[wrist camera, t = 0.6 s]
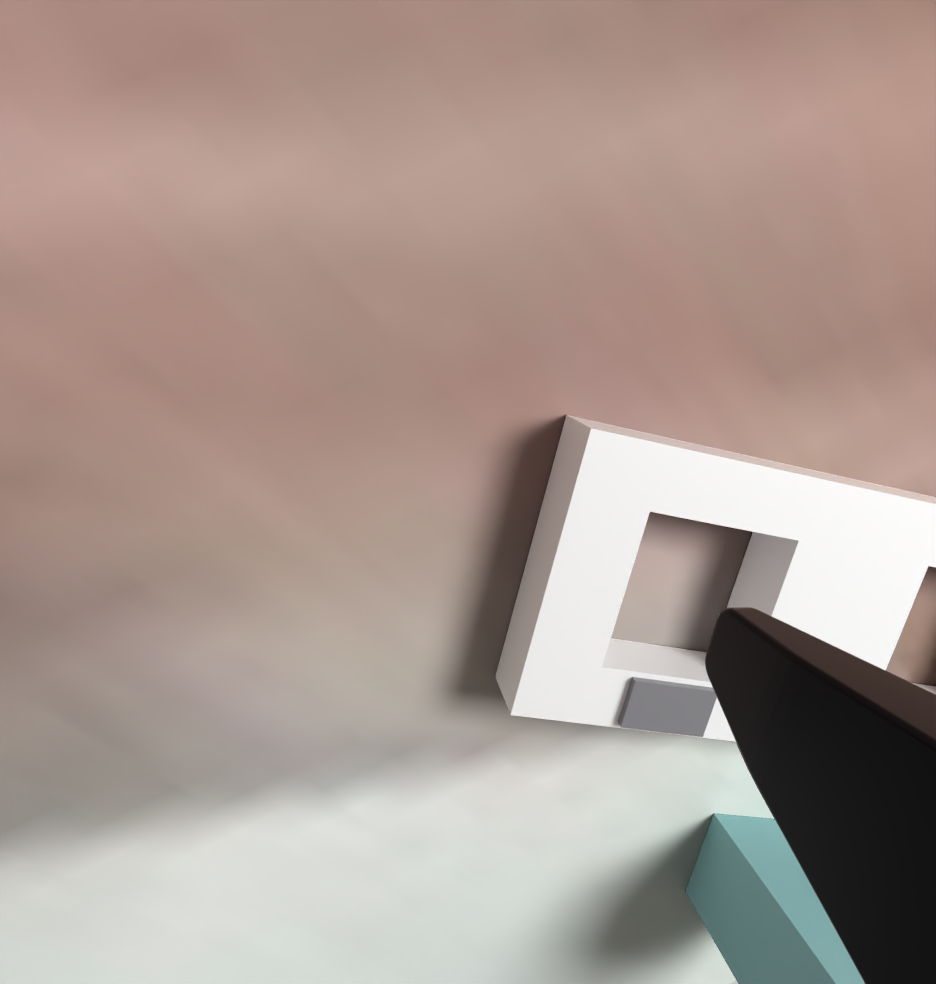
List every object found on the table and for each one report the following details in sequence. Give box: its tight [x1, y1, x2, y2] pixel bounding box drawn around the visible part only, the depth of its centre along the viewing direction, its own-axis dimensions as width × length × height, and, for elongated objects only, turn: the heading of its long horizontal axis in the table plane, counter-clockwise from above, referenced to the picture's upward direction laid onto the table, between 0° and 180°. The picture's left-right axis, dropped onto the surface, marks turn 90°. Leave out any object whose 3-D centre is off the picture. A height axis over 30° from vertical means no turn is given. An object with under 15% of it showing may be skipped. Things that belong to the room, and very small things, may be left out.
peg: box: [685, 814, 865, 984], centre depth 27 cm, size 4×4×8 cm
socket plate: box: [495, 415, 936, 742], centre depth 26 cm, size 10×22×3 cm, turn 76°
